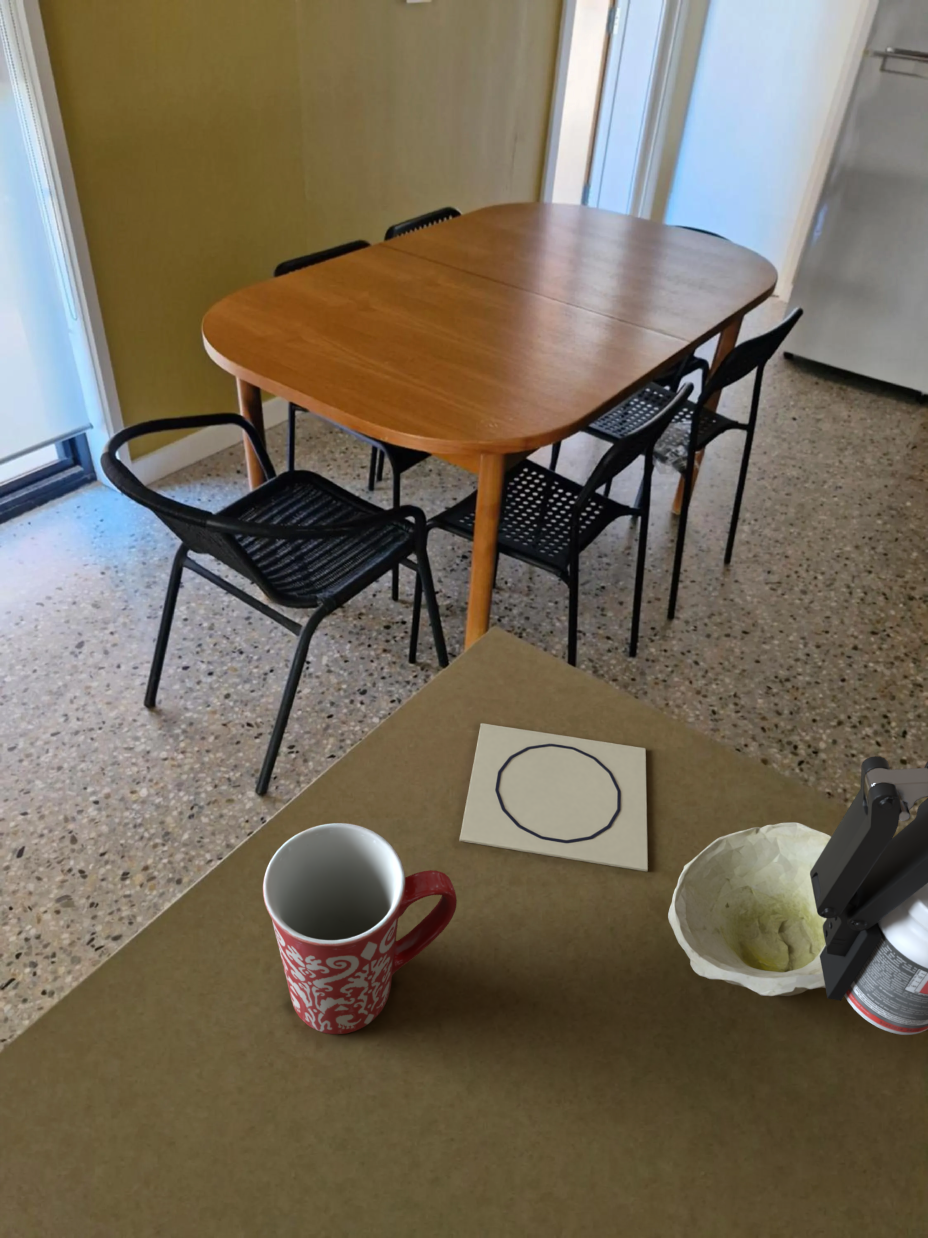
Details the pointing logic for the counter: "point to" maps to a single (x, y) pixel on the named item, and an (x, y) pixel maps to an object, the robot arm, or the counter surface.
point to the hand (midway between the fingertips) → (886, 987)
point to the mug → (346, 921)
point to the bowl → (754, 910)
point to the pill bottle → (897, 971)
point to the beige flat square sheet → (558, 797)
